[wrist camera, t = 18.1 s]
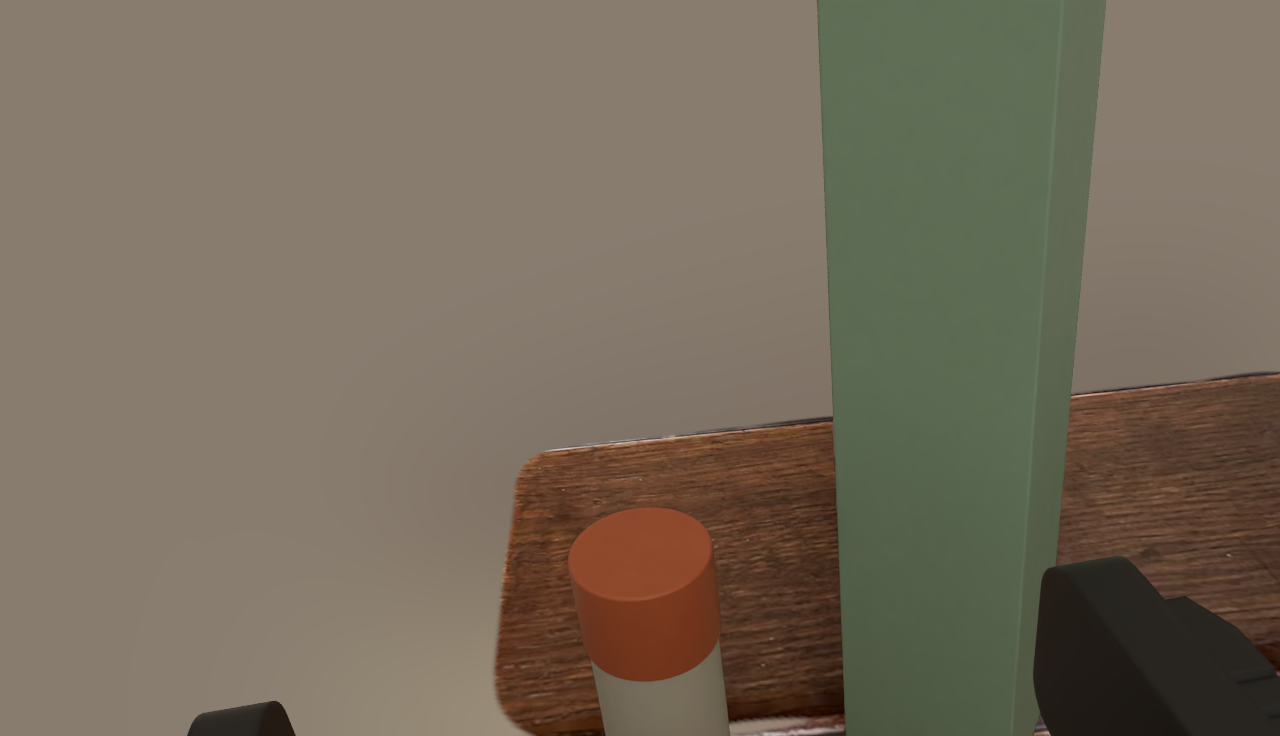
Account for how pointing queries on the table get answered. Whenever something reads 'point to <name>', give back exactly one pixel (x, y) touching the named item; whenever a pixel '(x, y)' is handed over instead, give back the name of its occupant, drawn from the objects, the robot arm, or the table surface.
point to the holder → (952, 340)
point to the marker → (651, 623)
